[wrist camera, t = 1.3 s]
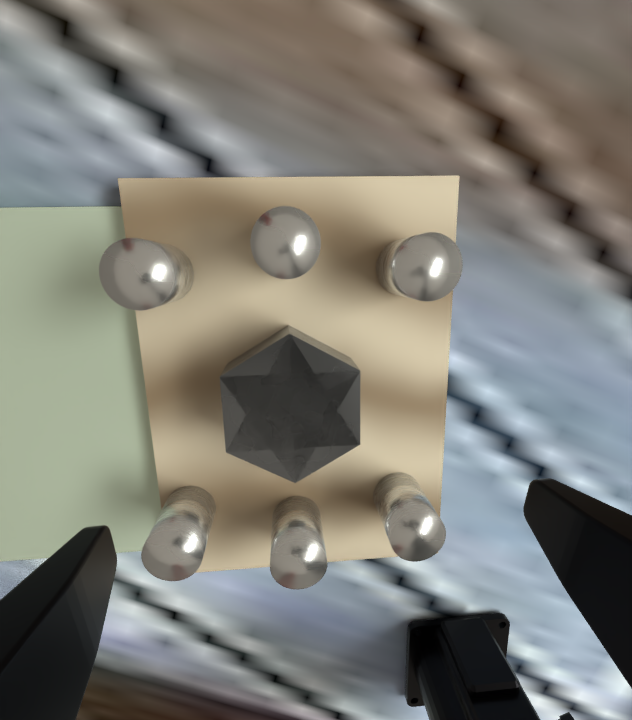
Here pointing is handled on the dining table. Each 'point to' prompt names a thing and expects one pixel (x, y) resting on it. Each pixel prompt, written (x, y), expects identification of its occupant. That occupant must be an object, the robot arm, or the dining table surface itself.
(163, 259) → the steel spacers
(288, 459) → the dark grey hexagonal block
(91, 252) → the mat
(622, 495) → the dining table surface
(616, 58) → the dining table surface
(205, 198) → the board
